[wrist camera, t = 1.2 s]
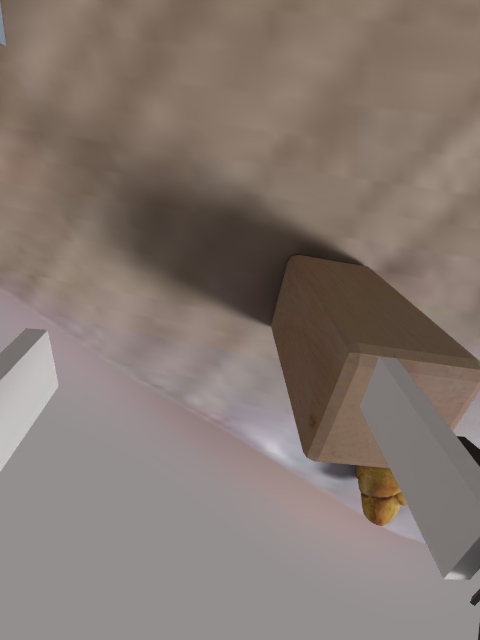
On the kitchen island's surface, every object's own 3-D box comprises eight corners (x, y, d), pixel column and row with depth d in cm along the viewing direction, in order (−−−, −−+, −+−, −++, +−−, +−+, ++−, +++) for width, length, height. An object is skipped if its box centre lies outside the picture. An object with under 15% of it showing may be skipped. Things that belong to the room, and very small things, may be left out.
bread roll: (350, 432, 50) (370, 479, 43) (414, 423, 50) (445, 469, 43) (350, 485, 57) (368, 533, 49) (407, 477, 56) (433, 525, 49)
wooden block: (268, 328, 41) (301, 466, 23) (288, 250, 36) (347, 349, 19) (343, 338, 42) (429, 477, 25) (372, 265, 38) (502, 371, 20)
